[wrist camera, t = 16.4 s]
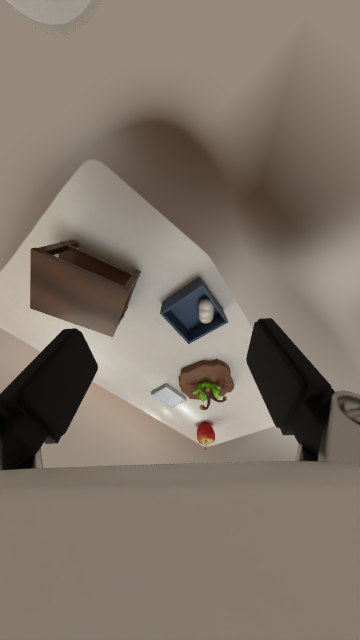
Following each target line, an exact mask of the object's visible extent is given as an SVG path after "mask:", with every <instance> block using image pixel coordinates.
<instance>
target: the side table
mask: <svg viewBox="0 0 360 640" xmlns="http://www.w3.org/2000/svg"><path fill="white" fill-rule="evenodd" d="M77 246H78V242H77V241H75V240H69V241H65V242H63V241H61V242H60V243H56V244H52V245H48V246H44V247H40V248H32V249H31V285H30V308H31V309H34V310H37V311H40V312H42V313H45V314H48V315H51V316H54V317H57V318H60V319H62V320H65V321H68V322H71V323H74V324H77V325H80V326H83V327H85V328H88V329H91V330H94V331H97V332H100V333H103V334H105V335H108V336H111V337H113V335H114V333H115V331H116V329H117V327H118V325H119V323H120V321H121V320H122V318H123V317H124V314H125V312H126V310H127V308H128V303H129V301H130V298H131V295H132V293H133V290H134V287H135V284H136V282H137V279H138V277H139V276H140V273H141V271H139V270H136V271H135V272H134V273H130V272H128V271H126V270H124V269H122V268H119V267H117V266H115V265H113V264H111V263H109V262H106V261H104V260H102V259H100V258H98V257H96V256H93V255H91V254H89V253H87V252H85V251H82V250H80V249H78V248H77ZM58 253H59V258H58V257H56V256H53V255H55V254H58Z"/></svg>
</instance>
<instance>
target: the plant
mask: <svg viewBox="0 0 360 640" xmlns="http://www.w3.org/2000/svg"><path fill="white" fill-rule="evenodd" d="M179 386H180V388H181V391H182V392H183V393H185V394H186V395H187V396H188V397H189V398H190V399H200V400H201V401H202V402H203V401H205V400H206V399H207V401H208V404H207V407H204V405H200V409H201V410H206V409H208V407H209V405H210V399H212V400H214V401H217V402H224V401H226V399H227V398H226V396H224V395H225V394H226V393H227V392H231V391H232V390H233V389H234V383H233V380H232V378H231V376H230V369H229V366H227V365H226V364H225V363H223V362H221V361H219V360H215V361H201V362H199V363H196V364H194V365H191V366H189V367H186V368H183V369H182V370H181V375H180V377H179ZM219 396H224V397H223V400H217V399H216V398H219Z"/></svg>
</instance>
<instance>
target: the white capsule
mask: <svg viewBox="0 0 360 640" xmlns="http://www.w3.org/2000/svg"><path fill="white" fill-rule="evenodd" d="M213 317H214V305H213V304H212V302H211V301H210V299H208V298H205V299H202V300H201V301H200V302H199V320H200V321H201V322H202V323H210V322H211V321H212V320H213Z"/></svg>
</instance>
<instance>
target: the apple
mask: <svg viewBox="0 0 360 640" xmlns="http://www.w3.org/2000/svg"><path fill="white" fill-rule="evenodd" d="M197 439H198V441H199V442H200V443H201V444H210V443H212V442H214V440H215V433H214V430H213V428H212V427H211V426H210V425H209V424H207V423H203V424H201V425H200V426H199V427H198V430H197ZM205 449H206V448H205Z"/></svg>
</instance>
